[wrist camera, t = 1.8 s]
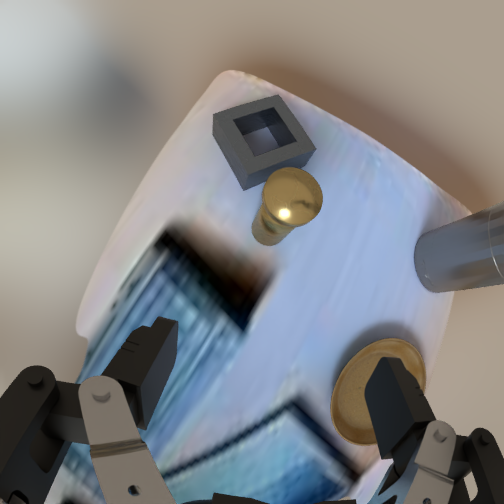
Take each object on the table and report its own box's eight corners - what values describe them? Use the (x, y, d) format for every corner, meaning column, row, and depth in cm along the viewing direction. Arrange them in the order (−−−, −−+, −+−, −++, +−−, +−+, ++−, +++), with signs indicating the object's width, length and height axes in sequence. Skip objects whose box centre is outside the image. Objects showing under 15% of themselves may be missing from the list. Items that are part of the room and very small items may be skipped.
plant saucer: (317, 447, 30) (324, 455, 27) (326, 339, 33) (335, 342, 30) (407, 426, 32) (417, 432, 29) (418, 332, 34) (430, 333, 32)
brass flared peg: (276, 202, 35) (303, 159, 24) (296, 238, 34) (333, 209, 23) (239, 219, 34) (252, 179, 23) (259, 257, 33) (282, 234, 22)
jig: (271, 114, 37) (278, 94, 33) (305, 165, 36) (316, 148, 32) (212, 134, 35) (213, 114, 31) (243, 190, 34) (248, 174, 30)
